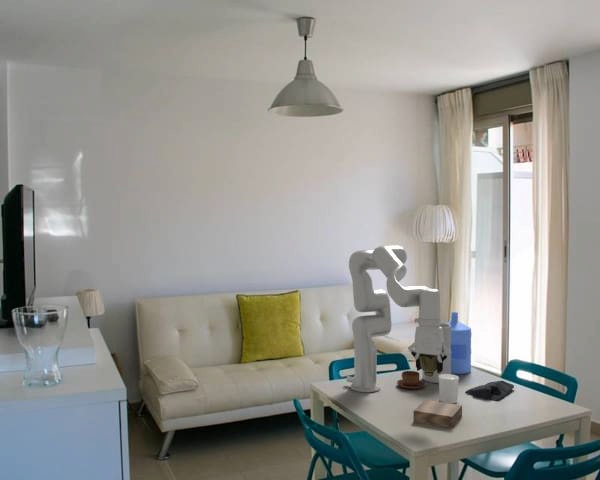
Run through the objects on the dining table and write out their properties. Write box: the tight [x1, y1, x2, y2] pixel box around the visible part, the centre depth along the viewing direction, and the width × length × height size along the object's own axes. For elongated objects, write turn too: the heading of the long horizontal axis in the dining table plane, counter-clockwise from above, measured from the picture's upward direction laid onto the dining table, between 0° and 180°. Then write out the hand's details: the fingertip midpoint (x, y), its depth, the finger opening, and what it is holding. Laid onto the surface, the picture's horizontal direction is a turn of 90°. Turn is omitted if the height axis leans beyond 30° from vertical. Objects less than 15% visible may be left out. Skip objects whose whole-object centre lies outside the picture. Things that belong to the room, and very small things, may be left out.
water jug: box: [444, 311, 472, 375], centre depth 278 cm, size 16×16×28 cm
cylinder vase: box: [421, 322, 451, 384], centre depth 262 cm, size 12×12×25 cm
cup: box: [419, 354, 438, 377], centre depth 211 cm, size 8×7×8 cm
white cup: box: [438, 374, 460, 404], centre depth 231 cm, size 8×8×10 cm
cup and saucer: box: [396, 370, 426, 390], centre depth 252 cm, size 12×12×6 cm
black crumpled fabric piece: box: [465, 380, 515, 402], centre depth 243 cm, size 15×22×5 cm
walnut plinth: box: [413, 399, 463, 429], centre depth 211 cm, size 14×14×4 cm
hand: (429, 370), depth 211 cm, fingers closed on cup, 7 cm apart
